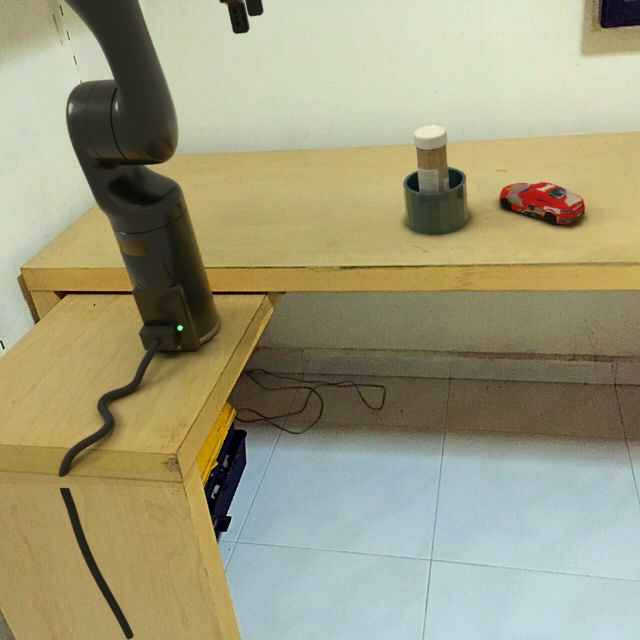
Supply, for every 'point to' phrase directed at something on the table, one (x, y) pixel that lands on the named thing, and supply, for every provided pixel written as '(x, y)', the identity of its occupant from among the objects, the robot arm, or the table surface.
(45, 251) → the table surface
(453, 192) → the cup
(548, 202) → the race car
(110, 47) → the robot arm
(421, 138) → the sprinkles bottle
